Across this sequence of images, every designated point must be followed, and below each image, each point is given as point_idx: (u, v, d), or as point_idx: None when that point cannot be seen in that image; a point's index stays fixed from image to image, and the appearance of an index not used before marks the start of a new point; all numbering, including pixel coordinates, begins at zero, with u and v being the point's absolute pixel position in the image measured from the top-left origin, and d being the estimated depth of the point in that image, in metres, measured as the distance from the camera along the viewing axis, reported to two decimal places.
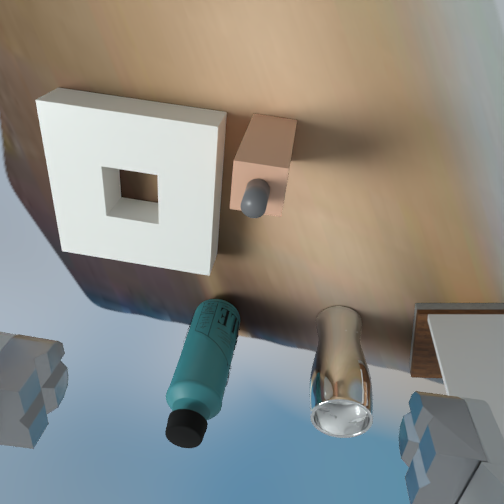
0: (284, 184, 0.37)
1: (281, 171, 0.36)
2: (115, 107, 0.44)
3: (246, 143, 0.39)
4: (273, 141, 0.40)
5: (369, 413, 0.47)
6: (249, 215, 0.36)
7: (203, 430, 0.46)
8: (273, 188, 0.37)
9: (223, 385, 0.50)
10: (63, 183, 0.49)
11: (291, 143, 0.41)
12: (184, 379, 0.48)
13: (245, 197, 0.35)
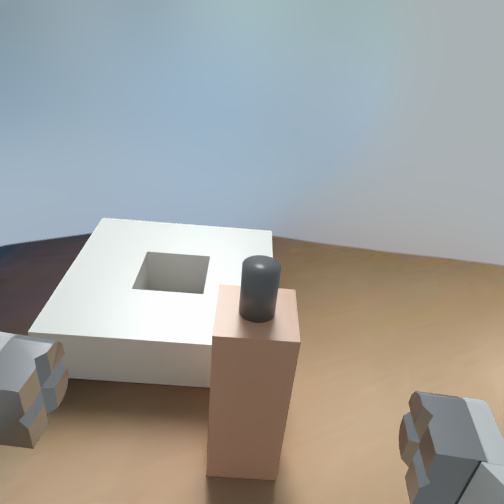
0: (272, 338, 0.23)
1: (292, 333, 0.23)
2: None
3: None
4: None
5: None
6: (246, 262, 0.23)
7: None
8: (262, 326, 0.24)
9: None
10: (188, 231, 0.47)
11: (287, 410, 0.26)
12: None
13: (274, 260, 0.24)
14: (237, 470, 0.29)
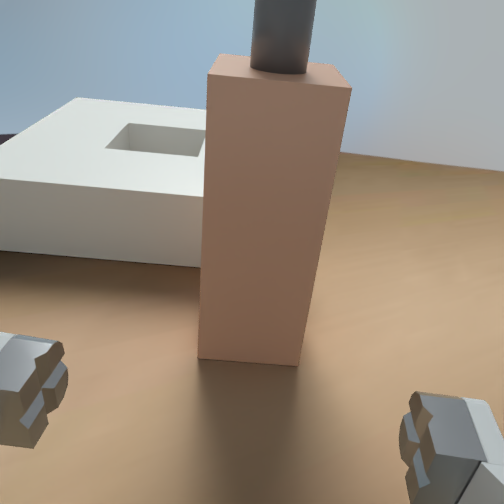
0: (305, 82, 0.14)
1: (338, 83, 0.15)
2: None
3: None
4: None
5: None
6: None
7: None
8: (288, 76, 0.15)
9: None
10: (181, 112, 0.38)
11: None
12: None
13: None
14: (243, 348, 0.20)
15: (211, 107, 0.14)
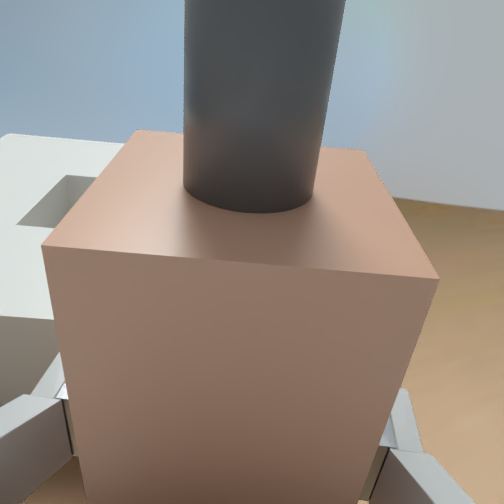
0: (312, 261, 0.05)
1: (396, 250, 0.06)
2: None
3: None
4: None
5: None
6: None
7: None
8: (268, 223, 0.06)
9: None
10: None
11: None
12: None
13: None
14: None
15: (67, 315, 0.06)
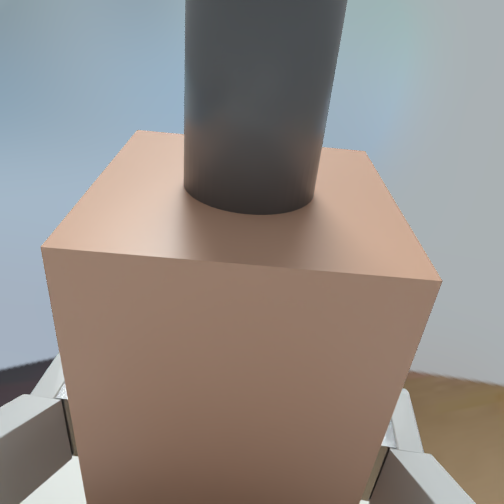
0: (314, 263, 0.05)
1: (397, 251, 0.06)
2: None
3: None
4: None
5: None
6: None
7: None
8: (270, 225, 0.06)
9: None
10: None
11: None
12: None
13: None
14: None
15: (67, 317, 0.06)
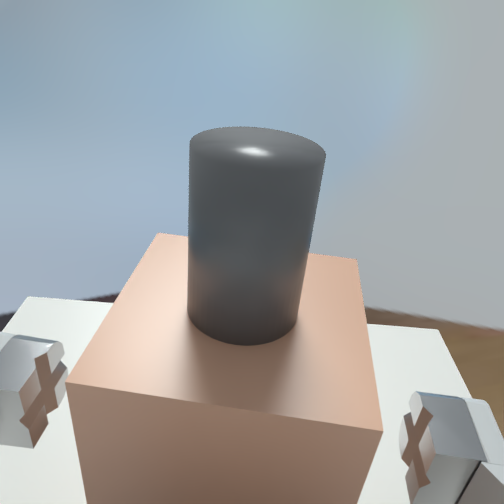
0: (279, 406, 0.06)
1: (354, 393, 0.07)
2: None
3: None
4: None
5: None
6: (206, 135, 0.07)
7: None
8: (251, 358, 0.07)
9: None
10: None
11: None
12: None
13: None
14: None
15: (84, 427, 0.07)
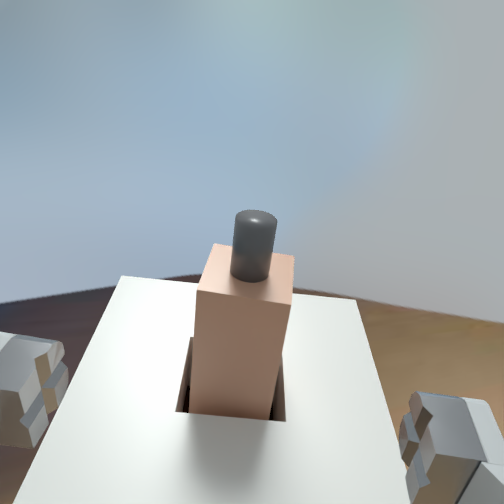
0: (261, 298, 0.21)
1: (284, 296, 0.22)
2: None
3: None
4: None
5: None
6: (240, 214, 0.22)
7: None
8: (252, 286, 0.22)
9: None
10: None
11: None
12: None
13: (271, 216, 0.22)
14: None
15: (198, 306, 0.22)
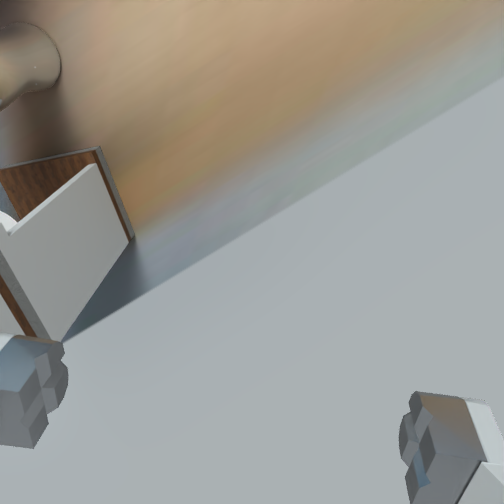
0: None
1: None
2: None
3: None
4: None
5: None
6: None
7: None
8: None
9: None
10: None
11: None
12: None
13: None
14: None
15: None
